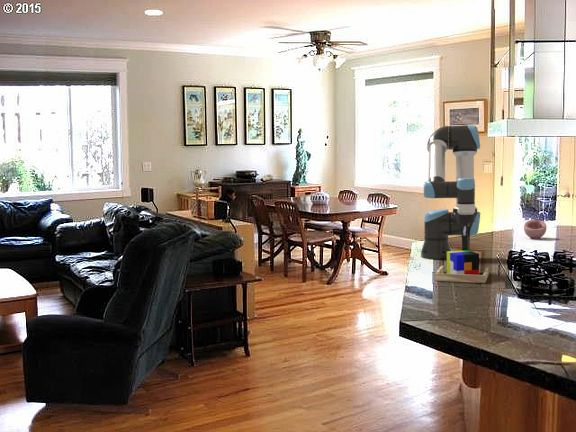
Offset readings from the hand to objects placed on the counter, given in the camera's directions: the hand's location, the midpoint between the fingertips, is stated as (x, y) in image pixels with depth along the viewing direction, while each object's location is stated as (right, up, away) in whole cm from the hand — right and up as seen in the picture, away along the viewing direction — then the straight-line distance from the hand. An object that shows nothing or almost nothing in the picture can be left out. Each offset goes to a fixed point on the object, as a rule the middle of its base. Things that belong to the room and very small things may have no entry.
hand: (465, 266), depth 290 cm
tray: (-5, -3, -12) cm, 13 cm away
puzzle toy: (-4, -3, -9) cm, 11 cm away
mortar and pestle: (+63, +9, +86) cm, 107 cm away
